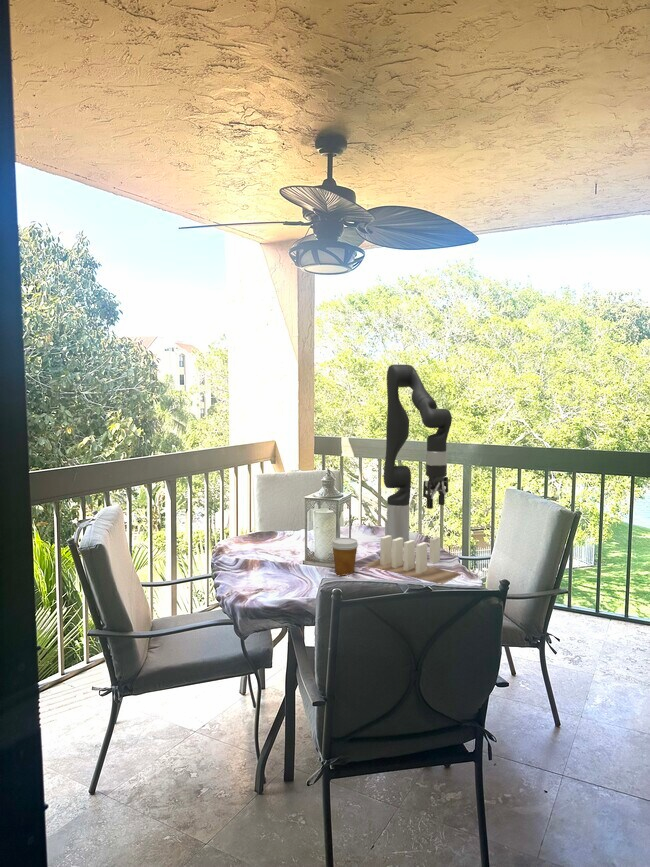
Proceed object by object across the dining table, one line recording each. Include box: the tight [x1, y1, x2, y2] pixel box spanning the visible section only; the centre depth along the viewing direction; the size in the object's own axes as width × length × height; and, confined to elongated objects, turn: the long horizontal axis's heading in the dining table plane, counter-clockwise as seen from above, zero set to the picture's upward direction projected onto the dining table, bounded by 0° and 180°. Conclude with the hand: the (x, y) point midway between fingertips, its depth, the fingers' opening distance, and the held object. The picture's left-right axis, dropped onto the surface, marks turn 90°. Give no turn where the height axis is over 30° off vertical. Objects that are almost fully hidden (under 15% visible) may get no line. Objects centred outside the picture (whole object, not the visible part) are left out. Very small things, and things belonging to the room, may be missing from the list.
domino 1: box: [379, 535, 392, 565], centre depth 210 cm, size 2×5×10 cm, turn 140°
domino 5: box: [428, 536, 441, 565], centre depth 212 cm, size 2×5×10 cm, turn 139°
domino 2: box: [392, 537, 404, 568], centre depth 207 cm, size 2×5×10 cm, turn 140°
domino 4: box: [415, 541, 428, 574], centre depth 200 cm, size 2×5×10 cm, turn 140°
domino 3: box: [403, 539, 416, 571], centre depth 204 cm, size 2×5×10 cm, turn 139°
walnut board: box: [364, 558, 462, 585], centre depth 203 cm, size 32×14×1 cm, turn 50°
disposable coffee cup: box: [331, 537, 359, 577], centre depth 201 cm, size 10×10×12 cm
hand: (435, 506), depth 210 cm, fingers open, 8 cm apart
